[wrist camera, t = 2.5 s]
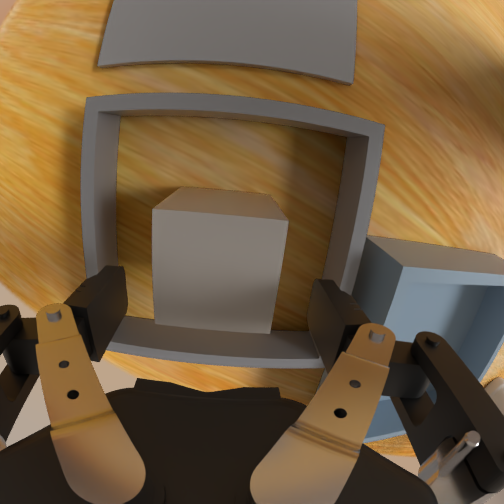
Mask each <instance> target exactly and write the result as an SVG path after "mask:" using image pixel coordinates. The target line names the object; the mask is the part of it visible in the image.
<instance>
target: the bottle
mask: <svg viewBox="0 0 504 504" xmlns="http://www.w3.org/2000/svg"><path fill="white" fill-rule="evenodd" d="M485 390H486V392H487V393H488V394H489V396H490V397H491V399H492V400H493V401H494V403H495V404H496V405H497V407H498V408H499V410H500V411H501V413H502V414H503V415H504V379H503V378H501V377H497V378H495V379H494V380H493V381H491V382H490V383H489V384H488V385H487V386H486V388H485Z"/></svg>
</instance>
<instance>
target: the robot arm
mask: <svg viewBox="0 0 504 504" xmlns="http://www.w3.org/2000/svg"><path fill="white" fill-rule="evenodd" d="M127 307H128V298H127V289H126V279H125V270H124V268H123V266H113V265H106V266H105V267H104V268H103V269H102V270H101V271H100V272H99V273H98V274H97V275H94V276H92V277H90V278H88V279H86V280H85V281H84V282H83V283H82V284H81V285H80V287H78V288H77V289H76V290H75V291H74V292H73V293H72V294H71V295H70V297H69V298H68V299H67V300H66V301H65V302H64V303H63V304H61V303H56V304H50V305H47V306H45V307H43V308H42V309H40V310H39V311H38V313H37V315H36V318H21V315H20V311H19V308H18V307H17V306H15V305H3V306H0V355H1V354H2V353H3V355H4V357H5V360H6V362H7V365H6V367H5V368H4V370H3V371H2V373H1V374H0V504H484V503H485V502H487V501H488V500H489V499H491V498H492V497H493V496H494V495H496V494H497V493H498V492H500V491H501V490H502V489H503V488H504V415H503V414H502V413H501V411H500V410H499V408H498V407H497V405H496V404H495V403H494V401H493V400H492V399H491V397H490V396H489V394H488V393H487V392H486V390H485V389H484V388H483V386H482V385H481V384H480V382H479V381H478V380H477V379H476V377H475V376H474V375H473V373H472V372H471V371H470V370H469V368H468V367H467V366H466V365H465V363H464V362H463V361H462V360H461V358H460V357H459V356H458V355H457V353H456V352H455V351H454V350H453V349H452V347H451V346H450V345H449V344H448V343H447V342H446V340H445V339H444V338H442V337H441V336H440V335H438V334H435V333H433V332H428V331H422V332H419V333H417V334H416V337H415V339H414V341H413V343H411V342H404V341H397V340H396V336H395V334H394V333H393V332H392V331H391V330H390V329H389V328H387V327H385V326H383V325H380V324H375V323H372V322H371V321H370V320H369V318H368V317H367V316H366V314H365V313H364V312H363V310H361V308H360V306H359V305H357V302H356V301H355V300H354V298H353V297H352V296H351V295H349V294H348V293H346V292H345V291H341V290H340V289H339V287H338V286H337V284H336V283H335V282H334V280H330V279H315V281H314V283H313V287H312V292H311V297H310V302H309V307H308V312H307V323H308V327H309V329H310V332H311V334H312V336H313V339H314V341H315V344H316V346H317V349H318V351H319V354H320V356H321V359H322V361H323V364H324V366H325V369H326V371H327V374H328V376H327V377H326V379H325V380H324V382H323V383H322V385H321V386H320V388H319V389H318V391H317V392H316V394H315V395H314V397H313V398H312V400H311V401H310V403H309V404H308V406H306V405H304V404H302V403H299V402H297V401H294V400H290V399H286V398H281V397H280V392H279V387H275V388H254V387H243V388H236V389H230V390H222V391H215V392H202V391H198V390H195V389H191V388H188V387H184V386H181V385H177V384H174V383H171V382H163V381H155V380H147V379H140V378H137V380H136V383H135V386H134V388H125V389H119V390H115V391H112V392H109V393H106V394H105V393H104V391H103V389H102V386H101V384H100V382H99V380H98V377H97V375H96V373H95V370H94V368H93V366H92V363H91V361H96V362H100V360H101V358H102V356H103V354H104V353H105V351H106V349H107V347H108V345H109V343H110V341H111V339H112V338H113V336H114V334H115V332H116V330H117V329H118V327H119V325H120V323H121V321H122V320H123V318H124V316H125V314H126V312H127ZM90 360H91V361H90ZM39 375H40V379H41V385H42V390H43V394H44V399H45V403H46V407H47V412H48V415H49V419H50V423H51V424H50V425H48V426H47V427H45V428H43V429H41V430H39V431H37V432H35V433H34V434H32V435H30V436H28V437H26V438H24V439H22V440H20V441H18V442H16V443H14V444H12V445H10V446H8V447H6V440H7V438H8V436H9V434H10V431H11V430H12V427H13V425H14V423H15V421H16V419H17V417H18V415H19V413H20V411H21V409H22V407H23V405H24V403H25V401H26V399H27V397H28V395H29V394H30V392H31V390H32V388H33V386H34V384H35V383H36V381H37V379H38V377H39ZM430 382H431V384H432V385H433V387H434V388H435V390H436V394H437V399H436V403H435V405H434V404H433V402H432V400H431V399H430V397H429V395H428V393H427V392H426V389H427V387H428V386H429V384H430ZM381 396H390V399H391V401H392V403H393V405H394V407H395V409H396V411H397V414H398V416H399V418H400V420H401V422H402V425H403V427H404V429H405V431H406V433H407V436H408V438H409V440H410V442H411V445H412V447H413V449H414V452H415V454H416V456H417V459H418V461H419V463H420V468H419V471H418V477H417V476H416V475H414V474H412V473H410V472H408V471H407V470H405V469H403V468H402V467H400V466H398V465H397V464H395V463H393V462H392V461H390V460H388V459H387V458H385V457H383V456H382V455H380V454H379V453H377V452H375V451H374V450H372V449H371V448H369V447H368V446H366V445H365V444H363V441H364V438H365V436H366V434H367V431H368V429H369V426H370V424H371V421H372V419H373V416H374V414H375V411H376V408H377V405H378V403H379V400H380V397H381Z"/></svg>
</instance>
